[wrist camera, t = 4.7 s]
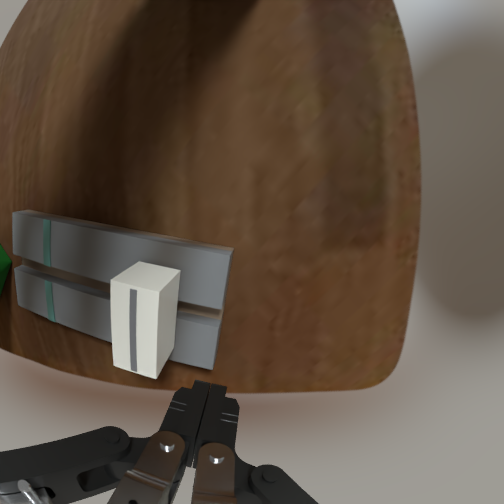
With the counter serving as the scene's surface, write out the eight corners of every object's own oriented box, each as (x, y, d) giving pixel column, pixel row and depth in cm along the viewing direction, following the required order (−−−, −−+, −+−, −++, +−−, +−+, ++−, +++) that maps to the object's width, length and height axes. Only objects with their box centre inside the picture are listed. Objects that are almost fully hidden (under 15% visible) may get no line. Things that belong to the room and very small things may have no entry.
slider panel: (234, 248, 20) (230, 256, 18) (217, 354, 23) (212, 370, 20) (28, 209, 21) (11, 212, 18) (31, 297, 23) (17, 305, 21)
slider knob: (185, 265, 20) (158, 292, 14) (178, 339, 21) (155, 380, 16) (145, 256, 20) (109, 280, 15) (142, 329, 21) (113, 366, 16)
